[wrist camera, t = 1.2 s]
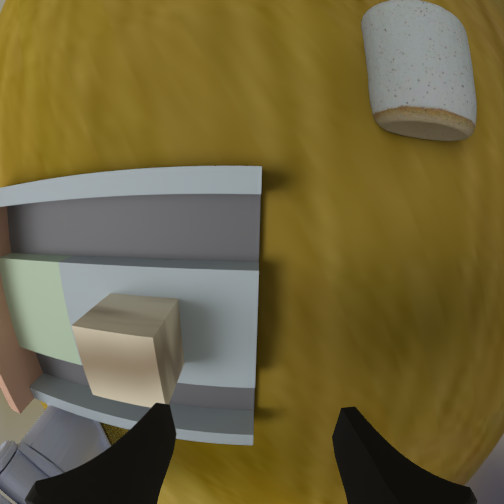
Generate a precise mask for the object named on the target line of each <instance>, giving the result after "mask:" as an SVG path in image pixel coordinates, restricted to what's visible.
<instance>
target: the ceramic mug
mask: <svg viewBox="0 0 504 504" xmlns="http://www.w3.org/2000/svg"><path fill="white" fill-rule="evenodd" d="M361 28H362V33H363V40H364V48H365V55H366V63H367V71H368V83H369V97H370V104H371V108H372V113H373V117H374V119H375V121H376V123H377V124H378V125H379V126H380V127H382V128H383V129H385V130H386V131H389V132H392V133H396V134H399V135H404V136H408V137H415V138H421V139H429V140H439V141H458V140H465V139H467V138H468V137H469V136H471V135H472V133H473V132H474V128H475V123H476V112H477V105H476V95H475V87H474V79H473V70H472V63H471V56H470V50H469V44H468V39H467V34H466V31H465V28H464V26H463V25H462V23H461V22H460V21H459V19H458V18H457V17H456V16H454V15H453V14H452V13H451V12H449V11H447V10H445V9H444V8H442V7H440V6H438V5H435V4H432V3H429V2H425V1H419V0H390V1H386V2H382V3H379V4H377V5H375V6H373V7H372V8H370V9H369V10H368V11H367V12H366V13H365V14H364V16H363V18H362V21H361Z"/></svg>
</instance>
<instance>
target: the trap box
mask: <svg viewBox="0 0 504 504" xmlns="http://www.w3.org/2000/svg"><path fill="white" fill-rule="evenodd" d="M261 187H262V166H184V167H161V168H144V169H130V170H118V171H108V172H98V173H89V174H81V175H73V176H66V177H59V178H52V179H46V180H39V181H34V182H28V183H23V184H17V185H12V186H7V187H3V188H0V388H1V389H2V391H3V393H4V395H5V397H6V399H7V401H8V403H9V405H10V407H11V408H12V409H13V410H14V411H16V412H18V413H21V412H22V411H23V410H24V409H25V408H26V407H27V405H28V404H29V403H30V402H31V401H32V400H33V399H34V398H35V399H38V400H40V401H42V402H45V403H47V404H50V405H52V406H55V407H57V408H60V409H63V410H65V411H68V412H71V413H74V414H77V415H80V416H83V417H86V418H89V419H92V420H95V421H99V422H102V423H106V424H109V425H113V426H117V427H121V428H125V429H129V430H130V429H131V428H132V427H133V426H134V425H135V424H136V423H137V422H138V421H139V420H140V419H141V418H142V417H143V416H144V415H145V414H146V413H147V412H148V411H149V409H150V407H144V406H139V405H134V404H129V403H125V402H120V401H116V400H111V399H107V398H103V397H99V396H96V395H93V394H92V391H91V388H90V385H89V383H88V380H87V377H86V374H85V371H84V368H83V365H82V362H81V358H80V355H79V352H78V348H77V345H76V341H75V337H74V333H73V330H72V326H71V325H73V324H74V323H75V322H76V321H77V320H78V319H80V318H81V317H82V316H83V315H84V314H86V313H87V312H88V311H89V310H90V309H92V308H93V307H94V306H95V305H96V304H98V303H99V302H100V301H101V300H103V299H104V298H105V297H106V296H108V295H109V294H110V293H113V294H124V295H136V296H149V297H163V298H178V299H179V312H180V323H181V334H182V344H183V353H184V362H185V363H184V366H183V368H182V371H181V374H180V376H179V379H178V381H177V384H176V387H175V389H174V392H173V395H172V397H171V400H170V403H169V405H170V408H171V412H172V417H173V421H174V425H175V429H176V433H177V434H176V439H182V440H190V441H198V442H207V443H219V444H234V445H253V426H254V393H255V375H256V348H257V318H258V287H259V237H260V198H261Z"/></svg>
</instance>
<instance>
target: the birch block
mask: <svg viewBox="0 0 504 504" xmlns="http://www.w3.org/2000/svg"><path fill="white" fill-rule="evenodd" d="M71 326H72V330H73V333H74V337H75V341H76V345H77V348H78V352H79V355H80V358H81V362H82V365H83V368H84V371H85V374H86V377H87V380H88V383H89V385H90V388H91V391H92V394H93V395H96V396H99V397H103V398H107V399H111V400H116V401H120V402H125V403H129V404H134V405H139V406H144V407H150V408H151V407H152V406H153V405H154V404H155V403H162V404H169V403H170V400H171V397H172V395H173V392H174V389H175V387H176V384H177V381H178V379H179V376H180V374H181V371H182V368H183V366H184V363H185V362H184V353H183V344H182V334H181V323H180V312H179V299H178V298H163V297H149V296H136V295H124V294H113V293H110V294H109V295H108V296H106V297H105V298H104V299H103V300H101V301H100V302H99V303H98V304H96V305H95V306H94V307H93V308H92V309H90V310H89V311H88V312H87V313H86V314H84V315H83V316H82V317H81V318H80V319H78V320H77V321H76V322H75V323H74V324H73V325H71Z"/></svg>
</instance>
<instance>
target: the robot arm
mask: <svg viewBox="0 0 504 504" xmlns="http://www.w3.org/2000/svg"><path fill="white" fill-rule="evenodd" d="M47 405H48V407H47V408H46V410H45V411H44V412H43V414H42V415H41V416H40V417H39V418H38V420H37V421H36V422H35V424H34V425H33V426H32V427H31V429H30V430H29V431H28V433H27V434H26V435H25V437H24V438H23V439H22V440H21V442H20V443H19V444H16V443H15V442H14V441H5V442H4V443H3V444H2V445H1V446H0V489H1V490H2V491H3V492H4V493H5V494H7V495H8V496H9V497H10V498H11V499H12V500H14V501H15V502H16V503H17V504H157V501H158V496H159V493H160V489H161V486H162V483H163V480H164V478H165V475H166V472H167V469H168V466H169V463H170V460H171V457H172V454H173V450H174V445H175V440H176V434H177V433H176V429H175V425H174V421H173V417H172V412H171V408H170V405H169V404H162V403H155V404H154V405H153V406H152V407H151V408H150V409H149V411H148V412H147V413H146V414H145V415H144V416H143V417H142V418H141V419H140V420H139V421H138V422H137V423H136V424H135V425H134V426H133V427H132V428H131V429H130V430H129V431H128V432H127V433H126V434H125V435H124V436H123V437H121V438H120V439H119V440H118V441H117V442H115V443H114V444H113V445H112V446H111V444H110V442H109V440H108V438H107V436H106V434H105V432H104V430H103V428H102V426H101V423H100V422H99V421H95V420H92V419H89V418H86V417H83V416H80V415H77V414H74V413H71V412H68V411H65V410H63V409H60V408H57V407H55V406H52V405H50V404H47ZM332 439H333V446H334V453H335V458H336V461H337V465H338V468H339V472H340V475H341V479H342V482H343V486H344V489H345V493H346V497H347V501H348V504H477V499H476V498H475V496H474V494H473V492H472V490H471V489H470V487H466V486H462V485H459V484H456V483H452V482H450V481H447V480H445V479H442V478H440V477H438V476H435V475H433V474H432V473H430V472H428V471H426V470H424V469H422V468H421V467H419V466H417V465H416V464H414V463H413V462H411V461H410V460H409V459H407V458H406V457H404V456H403V455H402V454H401V453H399V452H398V451H397V450H396V449H395V448H394V447H392V446H391V445H390V444H389V443H388V442H387V441H386V440H385V439H384V438H383V437H382V436H381V435H380V434H379V433H378V432H377V431H376V430H375V429H374V428H373V427H372V425H371V424H370V423H369V422H368V421H367V420H366V419H365V418H364V416H363V415H362V414H361V413H360V412H359V411H358V410H357V408H356V407H347V408H341V411H340V414H339V417H338V421H337V424H336V427H335V430H334V433H333V436H332ZM0 504H12V503H10V502H9V501H8V500H7V499H6V498H4V497H3V496H2V495H1V494H0Z"/></svg>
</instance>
